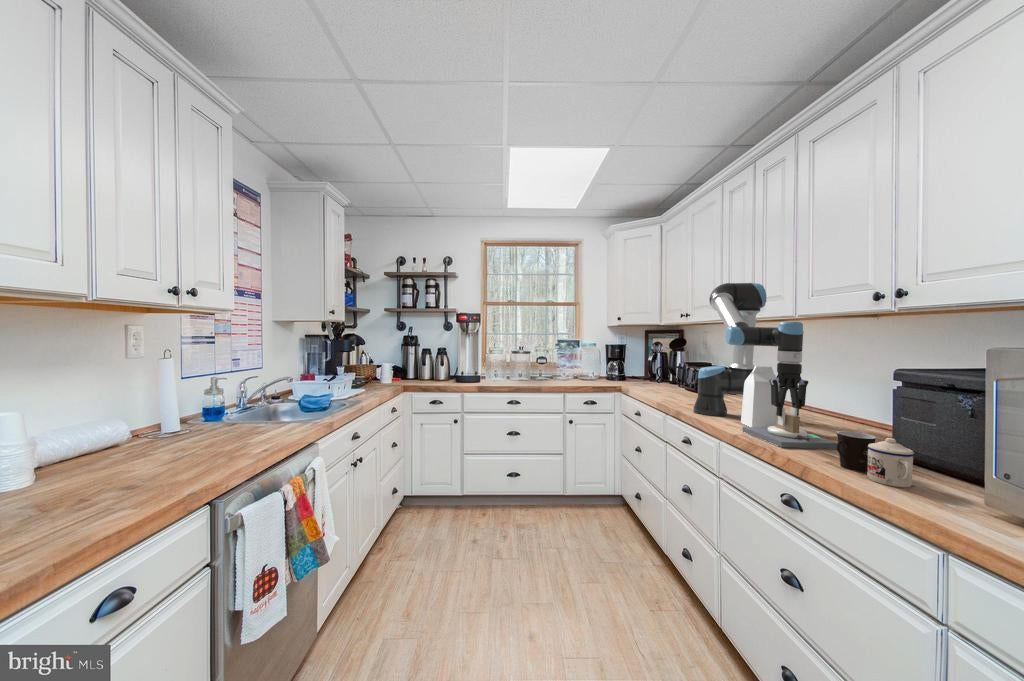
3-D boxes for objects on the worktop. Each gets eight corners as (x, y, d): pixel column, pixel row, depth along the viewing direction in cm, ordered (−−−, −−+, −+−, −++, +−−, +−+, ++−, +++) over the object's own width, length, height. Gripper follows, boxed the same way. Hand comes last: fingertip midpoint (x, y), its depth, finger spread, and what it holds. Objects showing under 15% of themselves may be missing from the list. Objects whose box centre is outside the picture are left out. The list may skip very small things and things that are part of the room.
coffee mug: (858, 464, 119) (860, 431, 119) (882, 474, 110) (884, 439, 110) (818, 462, 120) (819, 429, 120) (838, 472, 111) (839, 437, 111)
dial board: (742, 431, 157) (742, 426, 157) (791, 432, 157) (791, 427, 157) (781, 447, 135) (781, 441, 135) (837, 448, 135) (838, 442, 135)
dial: (760, 429, 152) (761, 410, 152) (790, 430, 152) (791, 411, 152) (791, 441, 136) (791, 419, 136) (824, 441, 136) (825, 420, 136)
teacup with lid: (858, 474, 110) (859, 433, 110) (896, 477, 108) (898, 435, 108) (888, 490, 98) (890, 444, 98) (932, 494, 96) (934, 448, 96)
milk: (751, 428, 164) (753, 366, 163) (740, 422, 175) (742, 364, 174) (783, 430, 161) (785, 368, 161) (770, 424, 173) (772, 365, 172)
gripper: (774, 363, 142) (771, 426, 142) (819, 364, 142) (817, 427, 142) (760, 361, 149) (758, 422, 150) (803, 362, 150) (801, 423, 150)
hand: (787, 424), depth 146 cm, fingers open, 4 cm apart
